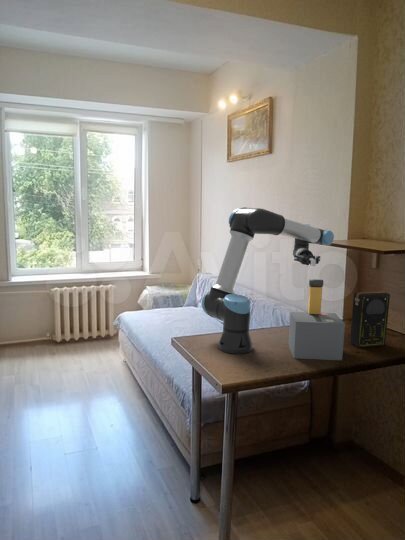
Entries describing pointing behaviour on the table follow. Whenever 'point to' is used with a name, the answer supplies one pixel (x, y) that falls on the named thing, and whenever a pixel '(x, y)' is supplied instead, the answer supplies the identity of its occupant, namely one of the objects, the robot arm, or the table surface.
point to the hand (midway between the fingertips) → (313, 263)
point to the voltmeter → (369, 319)
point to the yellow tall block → (315, 296)
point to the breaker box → (316, 336)
